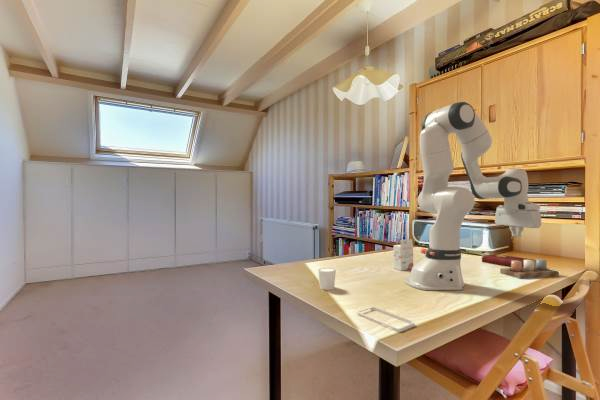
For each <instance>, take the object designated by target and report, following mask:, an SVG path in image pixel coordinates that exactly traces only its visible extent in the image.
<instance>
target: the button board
mask: <svg viewBox="0 0 600 400" xmlns="http://www.w3.org/2000/svg"><path fill="white" fill-rule="evenodd" d="M499 271H500V274H503V275H505V276H510V277H513V278H516V279H521V280H522V279H535V278H549V277H550V278H551V277H553V278H554V277H560V271H559V270H558V271H557V270H553V269H549V268H547V271H541V270H536V267H534V271H525V270H524V267H522V272H514V271H511V267H506V268H500V269H499Z"/></svg>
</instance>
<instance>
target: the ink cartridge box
mask: <svg viewBox="0 0 600 400" xmlns="http://www.w3.org/2000/svg"><path fill="white" fill-rule="evenodd" d="M399 242H400V244H393V269H394V270H397V269H398V270H397V271H401V270H402V271H406V270H412V267H413V266H414V244H413V239H412V238H408V239H407V238H406V239H400V241H399Z"/></svg>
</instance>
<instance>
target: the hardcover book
mask: <svg viewBox="0 0 600 400" xmlns="http://www.w3.org/2000/svg"><path fill="white" fill-rule="evenodd" d="M511 260H517V261H522V267H524V260H533V261H534V267H536V259H532V258H526V257H519V256H513V255H506V254H499V253H490V254H483V255H481V263H484V264H491V265H495V266H502V267H506V268H511Z"/></svg>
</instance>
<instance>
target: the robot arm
mask: <svg viewBox="0 0 600 400" xmlns="http://www.w3.org/2000/svg"><path fill="white" fill-rule="evenodd" d="M420 125H421V131H420V134H419V153H420V159H421V164H422V171H423V183H422V189H421V191H420V193H419V195H418V196H417V205H418V206H419V208H420V209H421V210H422V211H424V212H426V213H429V214H436V219H435V222H434V223H433V224H432V225H431V226H430V228H429V230H428V231H429V233H428V234H429V236H428V237H429V239H428V240H429V241H428V242H429V246H428V248H426V249H425V248H423V247H422V248H421V254H423V255H425V257H423V258H422V259H421V260H420V261H418V262H417V263H416V264H415V265H413V267H412V269H410V270H411V271H410V277H406V278H405V279H404V283H406V284H407V285H408V286H410V287H413V288H414V289H418V290H423V291H462V290H463V287H465V285H466V284H465V282H464V279H463V274H462V266H461V259H462V250H461V248H460V247H461V244H460V243H461V242H460V241H461V235H460V234H461V228H462V224H463V221H464V220H465V217H466V216H467V214H469V212H471V211H472V210H473V208H474V205H475V198H476V199H478V200H490V199H503V205H501V204H500V205H498V206H497V207H496V211H495V214H494V215H495V216H494V223H495V224H496V225H499V226H507V227H509V230H510V232H511V236H512V237H515V238H520V237H522V233H523V231H524V228H526V229H527V228H529V229H539V228H540V227H541V226H542V213H541V212H540V211H539V210H541V205H539V204H538V203H534V202H533V201H532V202H531V201H529V196H528V191H529V178H528V173H527V172H526V170H525V169H523V168H508V169H506V170H505V172H503V173H502V174H500V175H498V176H489V177H487V176H485V175H483V172H482V170H481V167H480V164H479V158H480V157H481V156H483V155H485V153H487V152H488V151H489V149H490V148H491V147H492V142H493V140H492V136H491V134H490V131H488V128H487V127H486V125H485V123H484V121H482V119H481V118H480V117H479V115H478V114H477V113H476V112H475V110H474V107H473V106H472V105H471V104H470V103H468V102H466V101H458V102H454V103H452V104H449V105H446V106H442V107H440V108H438V109H436V110H434V111H431V112H428V114H426V115H425V116H424V117H423V118H422V120H421V124H420ZM451 134H455V136H456V139H457V141H458V142H459V144H460V146H461V150H462V151H461V154H460V158H461V161H462V165H463V168H464V171H465V174H466V176H467V179H468V181H469V184H470V186H469V187H470V189H469V188H466V187H461V186H456V185H455V186H448V185H449V178H450V176H451V175H452V173H453V172H454V169H455V168H454V162H453V156H452V151H451V146H450V145H451V144H450V142H449V135H451Z"/></svg>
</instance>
